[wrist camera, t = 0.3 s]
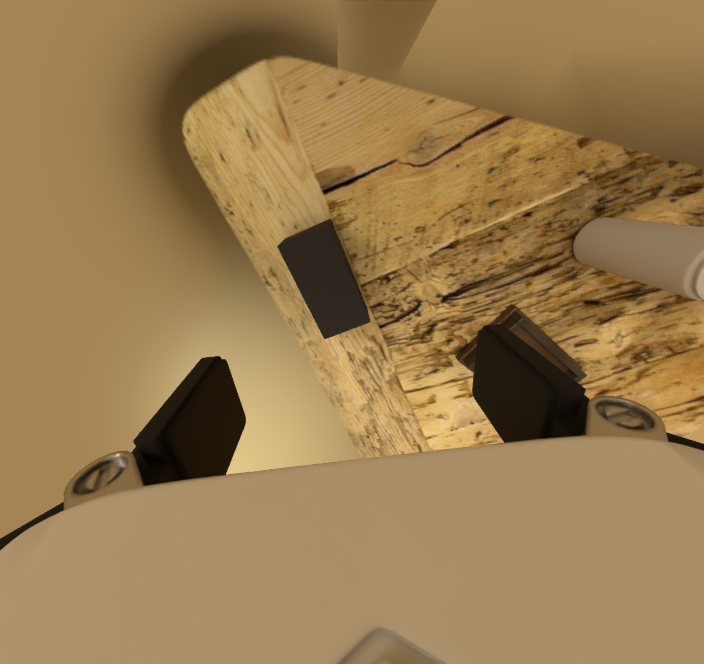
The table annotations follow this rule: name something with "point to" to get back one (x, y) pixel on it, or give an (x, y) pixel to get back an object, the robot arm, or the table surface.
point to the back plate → (532, 337)
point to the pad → (325, 279)
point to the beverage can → (646, 253)
